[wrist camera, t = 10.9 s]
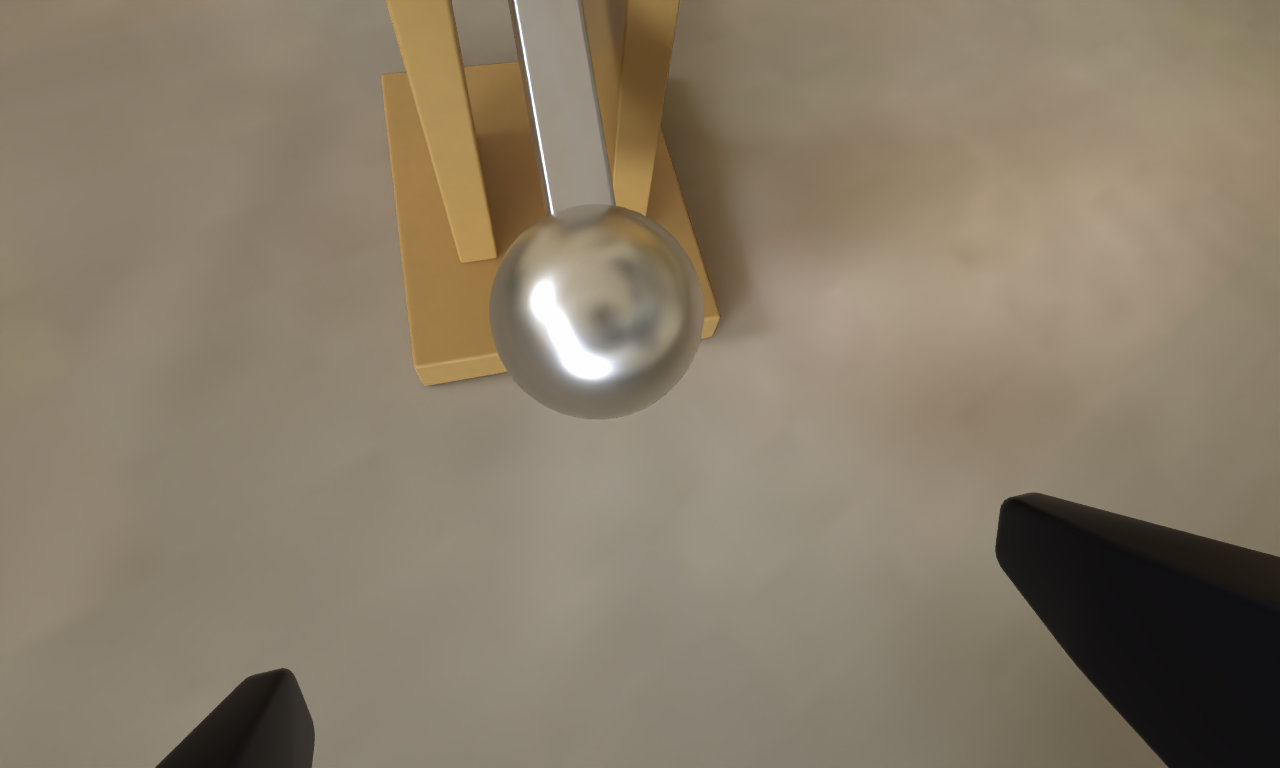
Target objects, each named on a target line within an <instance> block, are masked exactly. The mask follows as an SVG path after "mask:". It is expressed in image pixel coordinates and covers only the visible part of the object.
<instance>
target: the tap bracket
mask: <svg viewBox="0 0 1280 768" xmlns="http://www.w3.org/2000/svg"><path fill="white" fill-rule="evenodd" d="M679 2H680V0H582V4H583V10H584V16H585V22H586V28H587V34H588V40H589V46H590V52H591V58H592V64H593V70H594V76H595V82H596V88H597V94H598V100H599V106H600V112H601V118H602V124H603V130H604V136H605V142H606V148H607V154H608V160H609V166H610V172H611V178H612V184H613V190H614V196H615V202H616V206H620V207H625V208H628V209H631V210H633V211H636V212H639V213H641V214H643V215H645V216H647V217H649V218H650V219H652V220H653V221H655V222H656V223H658V224H659V225H661V226H662V227H663V228H664V229H666V230H667V231H668V232H669V233H670V234H671V235H672V236H673V237H674V238H675V239H676V240H677V241H678V243H679V244H680V245H681V246H682V248H683V249H684V250H685V252H686V253H687V255H688V256H689V258H690V260H691V262H692V264H693V266H694V268H695V270H696V273H697V276H698V279H699V281H700V285H701V290H702V294H703V304H704V323H703V329H702V336H701V339H702V338H708V337H712V336H713V334H714V332H715V329H716V327H717V324H718V322H719V320H720V313H719V310H718V307H717V304H716V301H715V297H714V294H713V291H712V288H711V285H710V282H709V278H708V275H707V272H706V269H705V266H704V263H703V260H702V256H701V253H700V250H699V247H698V244H697V241H696V237H695V234H694V231H693V228H692V225H691V222H690V218H689V215H688V212H687V209H686V206H685V203H684V199H683V196H682V193H681V190H680V187H679V184H678V180H677V177H676V174H675V171H674V168H673V165H672V161H671V158H670V155H669V152H668V149H667V146H666V142H665V139H664V136H663V133H662V130H661V127H660V124H661V118H662V112H663V105H664V99H665V92H666V86H667V79H668V73H669V67H670V60H671V54H672V47H673V41H674V35H675V28H676V22H677V15H678V9H679ZM386 3H387V7H388V10H389V14H390V17H391V21H392V24H393V28H394V31H395V35H396V38H397V42H398V45H399V49H400V52H401V56H402V59H403V63H404V66H405V70H406V72H400V73H389V74H383V75H382V76H381V81H382V90H383V99H384V108H385V117H386V125H387V134H388V143H389V152H390V161H391V170H392V179H393V188H394V197H395V206H396V214H397V223H398V232H399V241H400V250H401V259H402V268H403V277H404V286H405V295H406V303H407V312H408V321H409V330H410V339H411V348H412V357H413V366H414V368H415V370H416V372H417V374H418V376H419V378H420V379H421V381H422V383H423V385H426V386H428V385H434V384H440V383H445V382H451V381H457V380H463V379H469V378H475V377H481V376H486V375H492V374H498V373H504V372H507V370H506V369H505V367H504V365H503V363H502V361H501V360H500V358H499V355H498V353H497V350H496V348H495V345H494V342H493V338H492V334H491V330H490V321H489V300H490V294H491V287H492V284H493V281H494V277H495V274H496V271H497V269H498V267H499V265H500V262H501V260H502V258H503V257H504V255H505V254H506V252H507V250H508V249H509V247H510V246H511V245H512V244H513V242H514V241H515V240H516V239H517V238H518V236H519V235H521V234H522V233H523V232H524V231H525V230H526V229H527V228H528V227H529V226H531V225H532V224H534V223H535V222H537V221H538V220H540V219H541V218H543V217H545V216H546V215H545V209H544V203H543V197H542V192H541V186H540V180H539V175H538V169H537V163H536V157H535V152H534V146H533V140H532V135H531V129H530V123H529V117H528V112H527V106H526V100H525V95H524V89H523V83H522V77H521V72H520V66H519V62H510V63H499V64H488V65H477V66H466V67H464V65H463V60H462V54H461V49H460V44H459V38H458V33H457V28H456V22H455V17H454V12H453V6H452V1H451V0H386Z"/></svg>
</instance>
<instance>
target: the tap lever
mask: <svg viewBox="0 0 1280 768" xmlns="http://www.w3.org/2000/svg"><path fill="white" fill-rule="evenodd" d="M508 3H509V9H510V15H511V20H512V26H513V32H514V37H515V43H516V49H517V55H518V60H519V66H520V72H521V77H522V83H523V89H524V95H525V100H526V106H527V112H528V117H529V123H530V129H531V135H532V140H533V146H534V152H535V157H536V163H537V169H538V175H539V180H540V186H541V192H542V197H543V203H544V209H545V215H546V216H545V217H543V218H541V219H540V220H538V221H537V222H535V223H534V224H532V225H531V226H529V227H528V228H527V229H526V230H525V231H524V232H523V233H522V234H521V235H519V236H518V238H517V239H516V240H515V241H514V242H513V244H512V245H511V246H510V247H509V249H508V250H507V252H506V254H505V255H504V257H503V258H502V260H501V262H500V265H499V267H498V269H497V271H496V274H495V277H494V281H493V284H492V287H491V294H490V300H489V321H490V330H491V334H492V338H493V342H494V345H495V348H496V350H497V353H498V355H499V358H500V360H501V361H502V363H503V365H504V367H505V369H506V370H507V372H508V373H509V374H510V376H511V377H512V378H513V380H514V381H515V382H516V383H517V384H518V385H519V386H520V387H521V388H522V389H523V390H524V391H525V392H526V393H527V394H528V395H530V396H531V397H532V398H533V399H535V400H536V401H538V402H539V403H541V404H543V405H544V406H546V407H548V408H550V409H552V410H555V411H557V412H559V413H562V414H566V415H569V416H573V417H577V418H584V419H611V418H618V417H622V416H626V415H630V414H633V413H635V412H637V411H640V410H642V409H644V408H646V407H648V406H650V405H652V404H653V403H655V402H656V401H658V400H659V399H660V398H662V397H663V396H664V395H666V394H667V393H668V392H669V391H670V390H671V389H672V388H673V387H674V386H675V385H676V384H677V383H678V382H679V380H680V379H681V378H682V377H683V375H684V374H685V373H686V371H687V369H688V368H689V366H690V364H691V363H692V361H693V359H694V356H695V354H696V352H697V349H698V346H699V343H700V339H701V336H702V329H703V323H704V304H703V294H702V290H701V285H700V281H699V279H698V276H697V273H696V270H695V268H694V266H693V264H692V262H691V260H690V258H689V256H688V255H687V253H686V252H685V250H684V249H683V248H682V246H681V245H680V244H679V243H678V241H677V240H676V239H675V238H674V237H673V236H672V235H671V234H670V233H669V232H668V231H667V230H666V229H664V228H663V227H662V226H661V225H659V224H658V223H656V222H655V221H653V220H652V219H650V218H649V217H647V216H645V215H643V214H641V213H639V212H636V211H633V210H631V209H628V208H625V207H620V206H616V202H615V196H614V190H613V184H612V178H611V172H610V166H609V160H608V154H607V148H606V142H605V136H604V130H603V124H602V118H601V112H600V106H599V100H598V94H597V88H596V82H595V76H594V70H593V64H592V58H591V52H590V46H589V40H588V34H587V28H586V22H585V16H584V10H583V4H582V0H508Z"/></svg>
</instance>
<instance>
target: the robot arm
mask: <svg viewBox="0 0 1280 768" xmlns="http://www.w3.org/2000/svg"><path fill="white" fill-rule="evenodd" d="M995 551H996V557H997V560H998V562H999V564H1000V566H1001V568H1002V569H1003V571H1004V572H1005V573H1006V575H1007V576H1008V577H1009V578H1010V580H1011V581H1012V582H1013V584H1014V585H1015V586H1016V588H1017V589H1018V590H1019V592H1020V593H1021V594H1022V595H1023V597H1024V598H1025V599H1026V601H1027V602H1028V603H1029V605H1030V606H1031V607H1032V609H1033V610H1034V611H1035V613H1036V614H1037V615H1038V616H1039V618H1040V619H1041V620H1042V622H1043V623H1044V624H1045V626H1046V627H1047V628H1048V630H1049V631H1050V632H1051V634H1052V635H1053V636H1054V637H1055V639H1056V640H1057V641H1058V643H1059V644H1060V645H1061V647H1062V648H1063V649H1064V650H1065V652H1066V653H1067V654H1068V655H1069V657H1070V658H1071V659H1072V660H1073V662H1074V663H1075V664H1076V665H1077V667H1078V668H1079V669H1080V670H1081V671H1082V672H1083V674H1084V675H1085V676H1086V677H1087V678H1088V679H1089V680H1090V682H1091V683H1092V684H1093V685H1094V686H1095V687H1096V688H1097V689H1098V690H1099V692H1100V693H1101V694H1102V695H1103V696H1104V697H1105V698H1106V699H1107V700H1108V701H1109V703H1110V704H1111V705H1112V706H1113V707H1114V708H1115V709H1116V710H1117V711H1118V712H1119V714H1120V715H1121V716H1122V717H1123V718H1124V719H1125V720H1126V721H1127V722H1128V723H1129V725H1130V726H1131V727H1132V728H1133V729H1134V730H1135V731H1136V732H1137V733H1138V734H1139V736H1140V737H1141V738H1142V739H1143V740H1144V741H1145V742H1146V743H1147V744H1148V745H1149V747H1150V748H1151V749H1152V750H1153V751H1154V752H1155V753H1156V754H1157V755H1158V756H1159V758H1160V759H1161V760H1162V761H1163V762H1164V763H1165V764H1166V765H1167V766H1168V767H1169V768H1280V557H1277V556H1274V555H1270V554H1266V553H1262V552H1258V551H1255V550H1251V549H1247V548H1243V547H1240V546H1236V545H1232V544H1228V543H1225V542H1221V541H1217V540H1213V539H1210V538H1206V537H1202V536H1198V535H1195V534H1191V533H1187V532H1183V531H1180V530H1176V529H1172V528H1168V527H1165V526H1161V525H1157V524H1153V523H1150V522H1146V521H1142V520H1138V519H1135V518H1131V517H1127V516H1123V515H1119V514H1116V513H1112V512H1108V511H1104V510H1101V509H1097V508H1093V507H1089V506H1086V505H1082V504H1078V503H1074V502H1071V501H1067V500H1063V499H1059V498H1056V497H1052V496H1048V495H1044V494H1041V493H1026V494H1022V495H1018V496H1014V497H1010V498H1008V499H1006V500H1004V502H1003V504H1002V505H1001V508H1000V515H999V522H998V530H997V538H996V546H995ZM314 742H315V733H314V725H313V721H312V718H311V715H310V713H309V710H308V708H307V705H306V703H305V700H304V698H303V695H302V693H301V690H300V687H299V685H298V682H297V680H296V678H295V676H294V674H293V673H292V672H291V671H290V670H289V669H285V668H281V669H277V670H272V671H268V672H264V673H260V674H255V675H252V676H250V677H248V678H246V679H245V680H244V681H243V682H241V683H240V684H239V685H238V686H237V687H236V688H235V689H234V690H233V691H232V692H231V693H230V694H229V695H228V696H227V697H226V698H225V699H224V700H223V701H222V702H221V703H220V704H219V705H218V706H217V707H216V708H215V709H214V710H213V711H212V712H211V713H210V714H209V715H208V716H207V717H206V718H205V719H204V720H203V721H202V722H201V723H200V724H199V725H198V726H197V727H196V728H195V729H194V730H193V731H192V732H191V733H190V734H189V735H188V736H187V737H186V738H185V739H184V740H183V741H182V742H181V743H180V744H179V745H178V746H177V747H176V748H175V749H174V750H173V751H172V752H170V753H169V754H168V755H167V756H166V757H165V758H164V759H163V760H162V761H161V762H160V763H159V764H158V765H157V766H156V767H155V768H312V761H313V752H314Z"/></svg>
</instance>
